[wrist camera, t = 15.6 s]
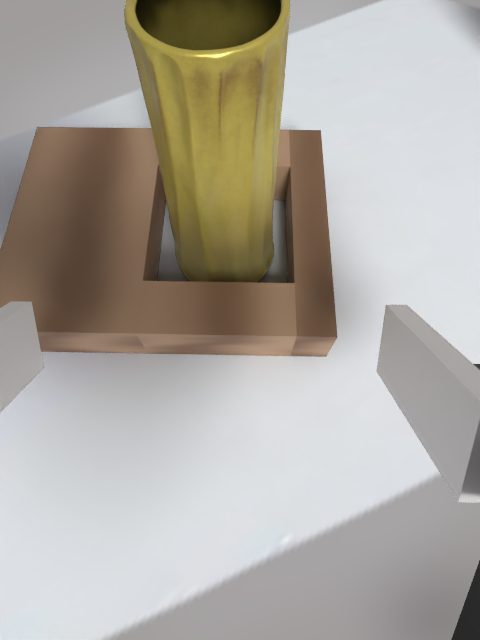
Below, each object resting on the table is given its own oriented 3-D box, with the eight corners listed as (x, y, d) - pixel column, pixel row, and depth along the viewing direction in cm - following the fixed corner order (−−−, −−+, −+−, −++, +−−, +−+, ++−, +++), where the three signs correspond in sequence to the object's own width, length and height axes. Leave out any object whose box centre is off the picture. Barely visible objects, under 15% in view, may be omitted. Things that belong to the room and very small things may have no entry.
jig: (7, 350, 23) (-24, 330, 21) (56, 162, 29) (37, 127, 26) (325, 356, 23) (337, 337, 20) (313, 165, 29) (320, 130, 26)
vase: (219, 196, 28) (197, -75, 14) (293, 244, 26) (344, -10, 13) (156, 257, 26) (66, 10, 13) (232, 313, 24) (219, 97, 11)
